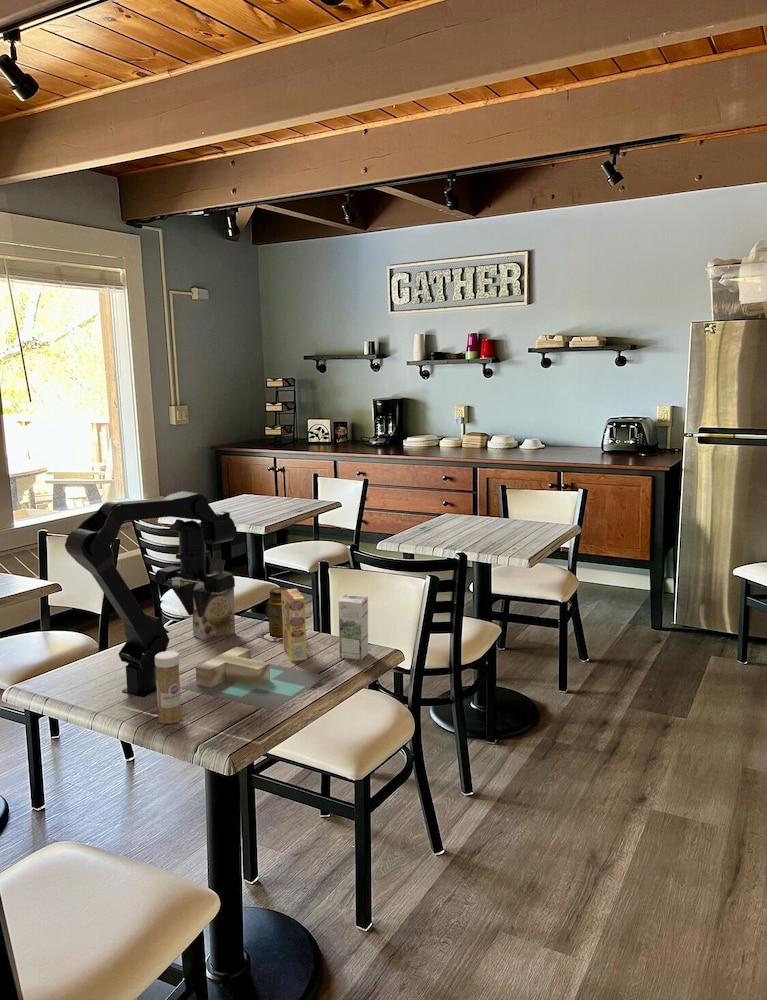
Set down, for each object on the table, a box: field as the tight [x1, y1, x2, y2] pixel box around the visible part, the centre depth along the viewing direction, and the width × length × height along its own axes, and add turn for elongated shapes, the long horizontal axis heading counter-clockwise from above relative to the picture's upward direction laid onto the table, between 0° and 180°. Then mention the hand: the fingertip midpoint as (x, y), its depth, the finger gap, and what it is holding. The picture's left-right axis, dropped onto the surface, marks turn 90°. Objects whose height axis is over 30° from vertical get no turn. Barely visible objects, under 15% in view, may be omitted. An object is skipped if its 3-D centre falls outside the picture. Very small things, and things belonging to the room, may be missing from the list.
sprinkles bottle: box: [155, 650, 183, 725], centre depth 151 cm, size 5×5×13 cm
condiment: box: [256, 587, 289, 641], centre depth 199 cm, size 7×8×12 cm
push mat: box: [181, 663, 327, 711], centre depth 169 cm, size 20×24×1 cm
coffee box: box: [192, 570, 236, 641], centre depth 200 cm, size 9×6×16 cm
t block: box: [195, 646, 271, 688], centre depth 171 cm, size 14×13×4 cm
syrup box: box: [338, 594, 369, 661], centre depth 184 cm, size 6×6×14 cm
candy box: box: [281, 588, 308, 662], centre depth 185 cm, size 9×4×15 cm, turn 19°
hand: (196, 615), depth 175 cm, fingers open, 3 cm apart
